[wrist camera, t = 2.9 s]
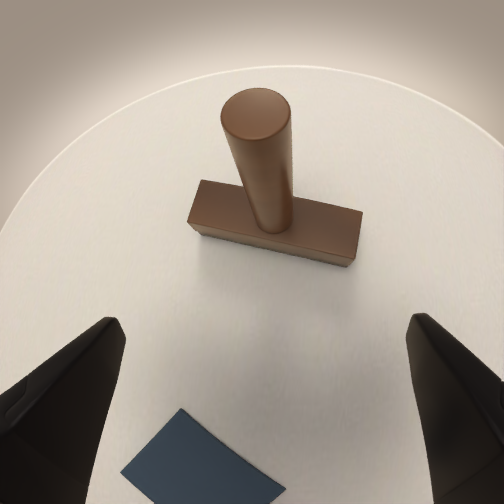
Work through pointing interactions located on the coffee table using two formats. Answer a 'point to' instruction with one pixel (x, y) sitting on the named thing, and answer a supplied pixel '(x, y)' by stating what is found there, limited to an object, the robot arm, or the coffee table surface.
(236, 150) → the wiper
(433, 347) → the robot arm
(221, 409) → the coffee table surface
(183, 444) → the drying mat
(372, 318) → the coffee table surface
